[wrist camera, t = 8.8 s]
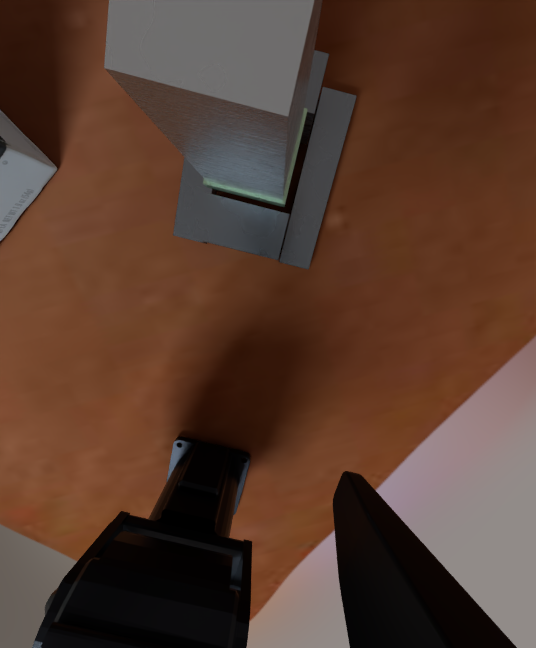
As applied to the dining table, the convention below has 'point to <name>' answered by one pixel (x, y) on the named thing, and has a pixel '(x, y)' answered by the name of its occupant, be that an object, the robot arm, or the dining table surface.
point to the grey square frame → (266, 224)
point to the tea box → (19, 173)
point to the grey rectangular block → (221, 83)
